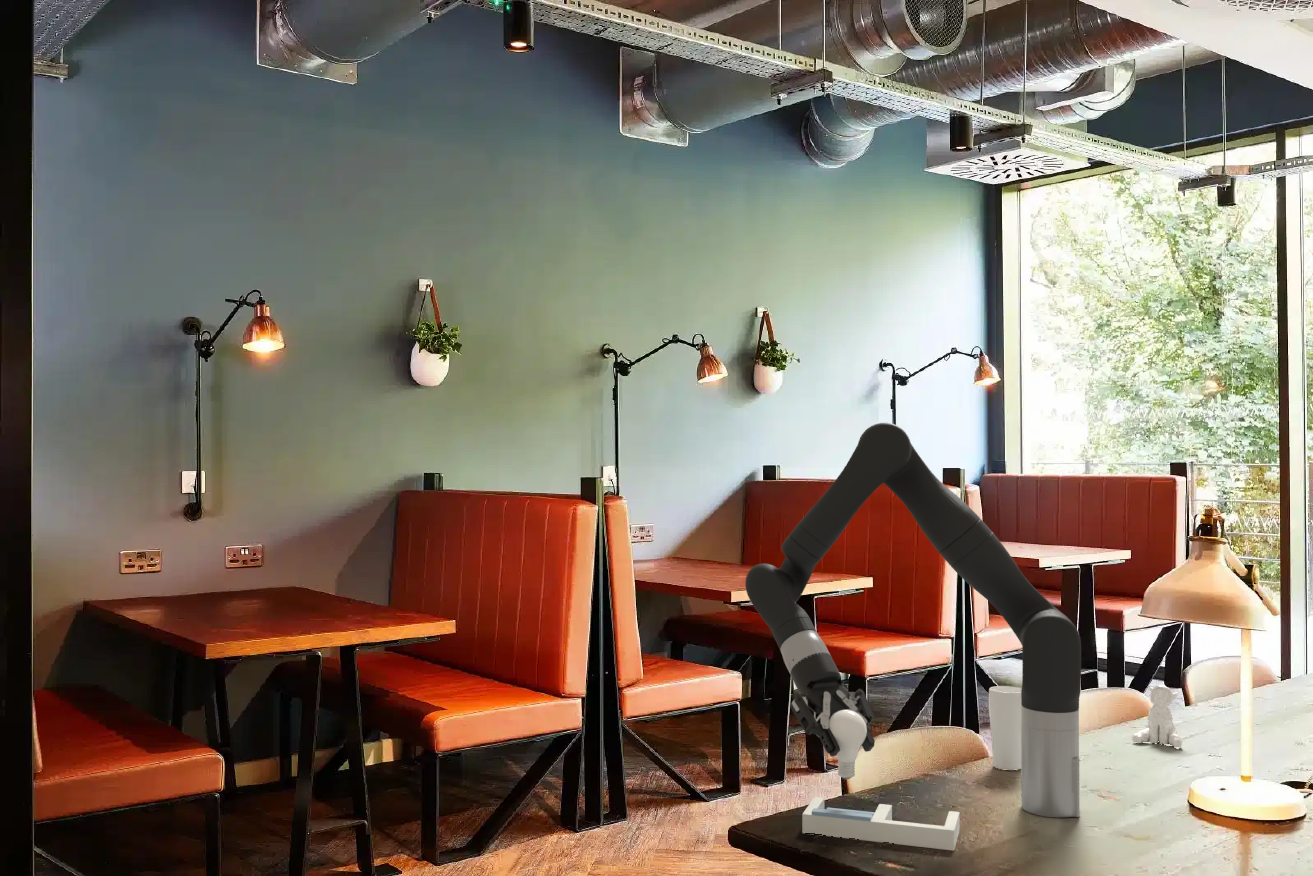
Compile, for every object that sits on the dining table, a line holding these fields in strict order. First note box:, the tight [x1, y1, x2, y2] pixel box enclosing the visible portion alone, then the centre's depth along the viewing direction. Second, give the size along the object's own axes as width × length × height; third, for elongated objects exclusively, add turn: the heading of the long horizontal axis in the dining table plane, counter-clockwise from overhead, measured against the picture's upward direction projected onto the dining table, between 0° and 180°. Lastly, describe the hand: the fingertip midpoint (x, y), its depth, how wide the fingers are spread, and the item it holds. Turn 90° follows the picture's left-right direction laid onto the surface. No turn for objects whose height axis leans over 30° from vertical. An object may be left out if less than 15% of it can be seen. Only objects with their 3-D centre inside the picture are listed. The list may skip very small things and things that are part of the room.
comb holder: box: [801, 796, 961, 851], centre depth 182 cm, size 23×11×4 cm, turn 70°
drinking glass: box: [988, 685, 1022, 770], centre depth 219 cm, size 7×7×15 cm
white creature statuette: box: [1131, 684, 1183, 748], centre depth 240 cm, size 10×9×12 cm
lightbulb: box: [828, 709, 867, 780], centre depth 184 cm, size 6×6×11 cm
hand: (853, 751), depth 183 cm, fingers closed on lightbulb, 6 cm apart
